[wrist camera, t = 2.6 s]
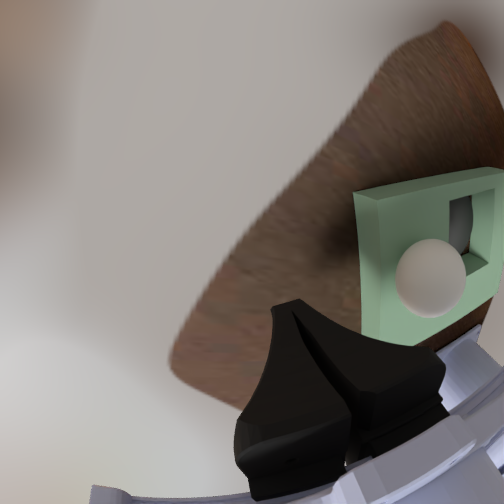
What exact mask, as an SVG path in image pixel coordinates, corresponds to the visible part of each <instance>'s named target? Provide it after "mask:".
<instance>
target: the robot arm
mask: <svg viewBox="0 0 504 504" xmlns="http://www.w3.org/2000/svg"><path fill="white" fill-rule="evenodd" d="M271 313H272V317H273V328H272V339H271V345H270V350H269V355H268V359H267V362H266V365H265V368H264V371H263V374H262V376H261V379H260V381H259V384H258V386H257V388H256V390H255V391H254V393H253V395H252V397H251V399H250V401H249V403H248V404H247V406H246V407H245V409H244V410H243V412H242V413H241V415H240V416H239V418H238V419H237V423H236V428H235V435H234V455H235V462H236V464H237V466H238V467H239V469H240V470H241V471H242V472H243V473H244V474H245V476H246V477H247V478H248V482H249V488H250V492H247V493H240V494H233V495H224V496H215V497H214V496H213V497H198V498H152V497H150V498H149V497H137V496H131V495H130V494H128V493H127V492H125V491H123V490H120V489H117V488H112V487H105V486H99V485H92V489H91V495H90V502H89V504H504V366H503V367H501V366H500V365H499V364H498V363H497V362H496V361H495V360H494V359H493V358H492V357H491V356H490V355H489V354H488V353H487V352H486V351H484V350H483V349H482V348H481V347H480V346H479V345H478V344H477V343H476V342H477V339H478V336H479V333H480V330H481V325H480V324H478V325H477V326H475V327H474V328H473V329H471V330H470V331H468V332H467V333H465V334H464V335H463V336H461V337H460V338H458V339H457V340H455V341H454V342H452V343H450V344H449V345H447V346H446V347H444V348H443V349H441V350H439V351H438V352H436V353H435V352H434V351H432V350H431V349H430V348H429V347H419V346H407V345H400V344H394V343H389V342H385V341H381V340H377V339H374V338H370V337H367V336H364V335H362V334H359V333H357V332H354V331H352V330H349V329H347V328H345V327H343V326H341V325H339V324H337V323H336V322H334V321H332V320H330V319H329V318H327V317H326V316H324V315H322V314H321V313H319V312H318V311H316V310H315V309H313V308H312V307H311V306H309V305H308V304H306V303H305V302H304V301H302V300H301V299H296V300H293V301H290V302H286V303H283V304H279V305H276V306H273V307H272V308H271ZM345 462H346V465H347V466H344V464H345Z"/></svg>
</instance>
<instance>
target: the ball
mask: <svg viewBox="0 0 504 504" xmlns="http://www.w3.org/2000/svg"><path fill="white" fill-rule="evenodd" d="M465 284H466V271H465V266H464V263H463V260H462V258H461V256H460V254H459V253H458V252H457V250H456V249H455V248H454V247H453V246H451V245H450V244H448V243H447V242H445V241H442V240H439V239H425V240H421V241H419V242H417V243H415V244H413V245H412V246H410V247H409V248H408V249H407V250H406V251H405V252H404V254H403V255H402V257H401V258H400V260H399V262H398V265H397V269H396V274H395V286H396V291H397V294H398V296H399V299H400V301H401V302H402V304H403V305H404V306H405V307H406V308H407V309H408V310H409V311H410V312H412V313H413V314H415V315H417V316H420V317H424V318H435V317H439V316H442V315H444V314H446V313H447V312H449V311H450V310H451V309H453V308H454V307H455V306H456V304H457V303H458V302H459V300H460V298H461V297H462V294H463V292H464V288H465Z"/></svg>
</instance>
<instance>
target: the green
mask: <svg viewBox="0 0 504 504" xmlns="http://www.w3.org/2000/svg"><path fill="white" fill-rule="evenodd" d="M468 195H472V204H471V201H470V199H469V197H468ZM353 198H354V205H355V214H356V223H357V233H358V244H359V258H360V275H361V304H362V335H364V336H367V337H370V338H374V339H377V340H381V341H385V342H389V343H394V344H400V345H407V346H414V345H416V344H417V343H419V342H421V341H423V340H425V339H427V338H428V337H430V336H432V335H434V334H436V333H437V332H439V331H441V330H442V329H444V328H446V327H447V326H449V325H451V324H452V323H454V322H456V321H457V320H459V319H460V318H462V317H463V316H465V315H466V314H468V313H470V312H471V311H472V310H474V309H475V308H477V307H478V306H480V305H481V304H483V303H484V302H485V301H487V300H488V299H490V298H491V297H492V296H494V295H495V294H496V293H497V292H498V288H499V283H500V278H501V274H502V269H503V263H504V170H502V169H498V168H493V167H482V168H476V169H470V170H464V171H458V172H452V173H446V174H441V175H436V176H430V177H425V178H420V179H414V180H409V181H404V182H399V183H394V184H390V185H385V186H380V187H375V188H371V189H366V190H361V191H357V192H353ZM425 239H439V240H442V241H445V242H447V243H448V244H450V245H451V246H453V247H454V248H455V249H456V250H457V252H458V253H459V254H460V255H461V254H462V252H463V251H464V249H465V247H466V246H467V244H468V241H469V239H470V248H469V253H467V254H465V255H463V256H461V258H462V260H463V263H464V266H465V271H466V284H465V288H464V292H463V294H462V297H461V298H460V300H459V302H458V303H457V304H456V306H455V307H454V308H453V309H451V310H450V311H449V312H447V313H446V314H444V315H442V316H439V317H435V318H424V317H420V316H417V315H415V314H413V313H412V312H410V311H409V310H408V309H407V308H406V307H405V306H404V305H403V304H402V302H401V301H400V299H399V296H398V294H397V291H396V286H395V274H396V269H397V265H398V262H399V260H400V258H401V257H402V255H403V254H404V252H405V251H406V250H407V249H408V248H409V247H410V246H412V245H413V244H415V243H417V242H419V241H421V240H425Z"/></svg>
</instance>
